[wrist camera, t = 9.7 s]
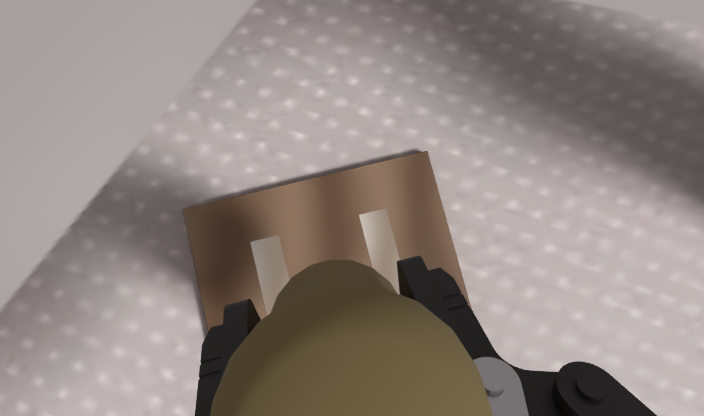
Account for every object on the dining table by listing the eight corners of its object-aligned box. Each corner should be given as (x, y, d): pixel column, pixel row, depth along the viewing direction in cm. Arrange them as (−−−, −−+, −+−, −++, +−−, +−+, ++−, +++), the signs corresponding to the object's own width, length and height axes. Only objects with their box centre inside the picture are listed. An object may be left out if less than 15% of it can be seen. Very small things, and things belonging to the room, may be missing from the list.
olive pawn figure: (237, 326, 16) (52, 469, 5) (343, 230, 17) (370, 185, 6) (333, 436, 16) (344, 825, 5) (436, 333, 17) (639, 477, 6)
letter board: (424, 153, 26) (427, 150, 25) (492, 394, 24) (496, 398, 24) (186, 210, 25) (182, 209, 24) (241, 468, 23) (238, 474, 22)
